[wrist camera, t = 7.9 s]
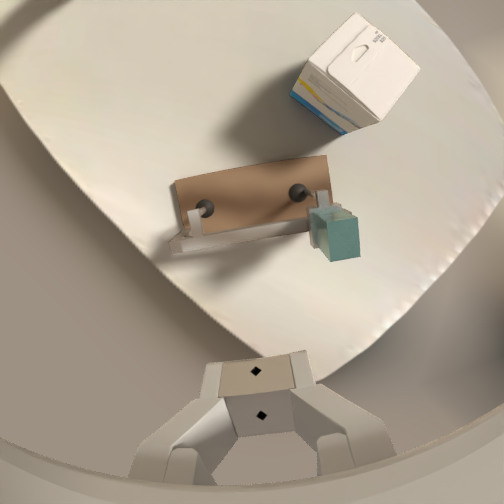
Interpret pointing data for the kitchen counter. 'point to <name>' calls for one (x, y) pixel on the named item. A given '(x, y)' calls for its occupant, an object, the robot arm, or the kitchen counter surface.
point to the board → (248, 202)
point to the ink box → (354, 76)
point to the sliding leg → (332, 228)
